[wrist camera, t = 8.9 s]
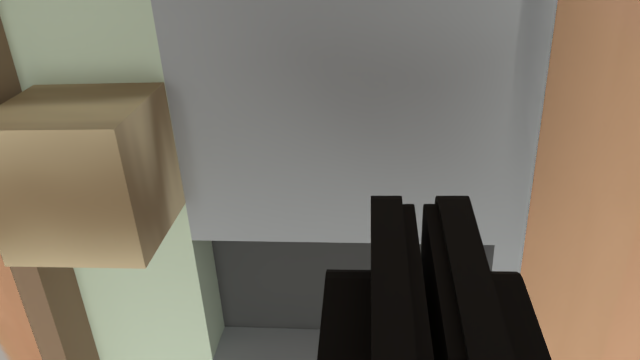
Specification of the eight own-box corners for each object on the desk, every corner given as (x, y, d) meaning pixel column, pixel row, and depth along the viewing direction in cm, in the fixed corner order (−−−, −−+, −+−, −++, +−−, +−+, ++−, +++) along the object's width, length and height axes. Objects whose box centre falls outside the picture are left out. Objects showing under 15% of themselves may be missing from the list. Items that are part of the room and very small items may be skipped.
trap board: (-59, -264, 17) (-191, -306, 13) (573, -316, 15) (639, -382, 11) (105, 333, 28) (60, 409, 24) (493, 346, 26) (513, 431, 22)
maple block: (33, 84, 19) (-44, 131, 16) (164, 82, 19) (113, 128, 15) (67, 202, 22) (5, 266, 18) (185, 202, 21) (145, 268, 17)
